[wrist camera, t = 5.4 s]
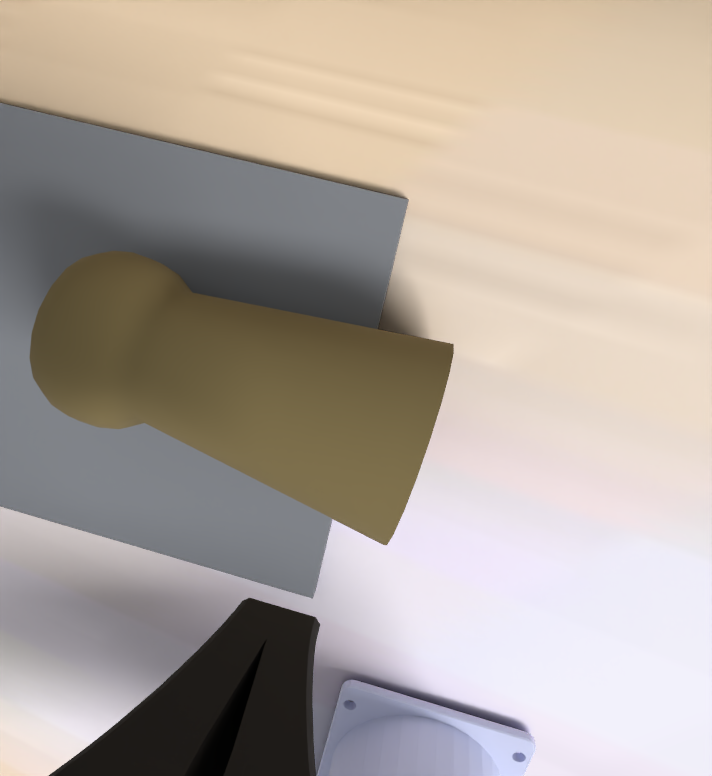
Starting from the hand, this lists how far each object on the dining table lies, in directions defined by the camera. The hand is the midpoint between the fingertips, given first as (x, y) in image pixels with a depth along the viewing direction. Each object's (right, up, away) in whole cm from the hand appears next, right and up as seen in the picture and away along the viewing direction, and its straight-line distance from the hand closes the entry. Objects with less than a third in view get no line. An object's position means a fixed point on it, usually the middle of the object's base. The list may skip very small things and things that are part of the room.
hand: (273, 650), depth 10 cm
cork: (+3, +3, +6) cm, 8 cm away
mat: (-7, +6, +10) cm, 14 cm away
